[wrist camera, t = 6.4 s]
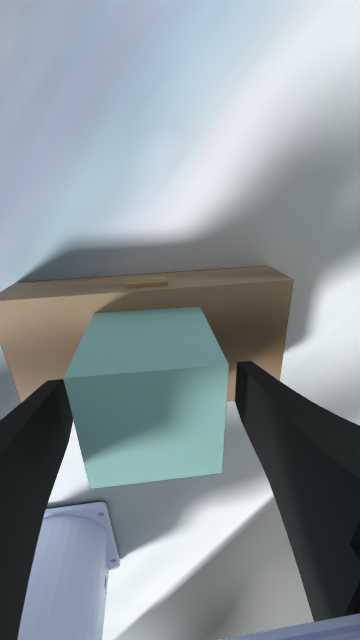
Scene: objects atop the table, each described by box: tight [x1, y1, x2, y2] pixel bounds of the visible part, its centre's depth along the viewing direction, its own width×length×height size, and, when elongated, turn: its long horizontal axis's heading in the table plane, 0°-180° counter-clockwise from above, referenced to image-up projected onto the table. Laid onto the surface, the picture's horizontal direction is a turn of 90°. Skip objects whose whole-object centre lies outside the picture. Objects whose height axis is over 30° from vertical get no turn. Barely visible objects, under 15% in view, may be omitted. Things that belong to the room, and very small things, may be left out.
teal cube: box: [64, 307, 229, 489], centre depth 12 cm, size 5×5×5 cm
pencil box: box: [0, 266, 293, 403], centre depth 15 cm, size 7×14×3 cm, turn 92°
